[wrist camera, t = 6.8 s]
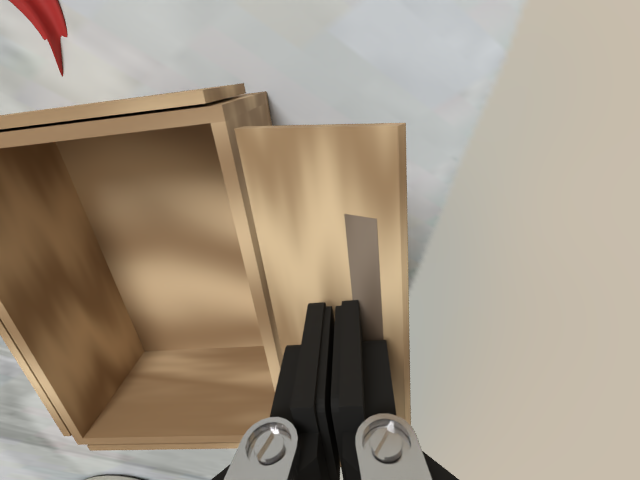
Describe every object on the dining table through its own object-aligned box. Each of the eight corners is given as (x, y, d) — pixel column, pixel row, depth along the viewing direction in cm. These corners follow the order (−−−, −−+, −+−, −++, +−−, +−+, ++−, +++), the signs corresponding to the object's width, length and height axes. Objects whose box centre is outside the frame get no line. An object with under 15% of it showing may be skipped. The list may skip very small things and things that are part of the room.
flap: (306, 434, 18) (412, 500, 14) (300, 441, 17) (407, 511, 14) (244, 126, 11) (406, 122, 8) (233, 128, 11) (397, 126, 8)
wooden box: (311, 350, 25) (299, 447, 18) (139, 357, 26) (73, 450, 20) (266, 80, 17) (220, 87, 11) (31, 110, 19) (-127, 132, 12)
